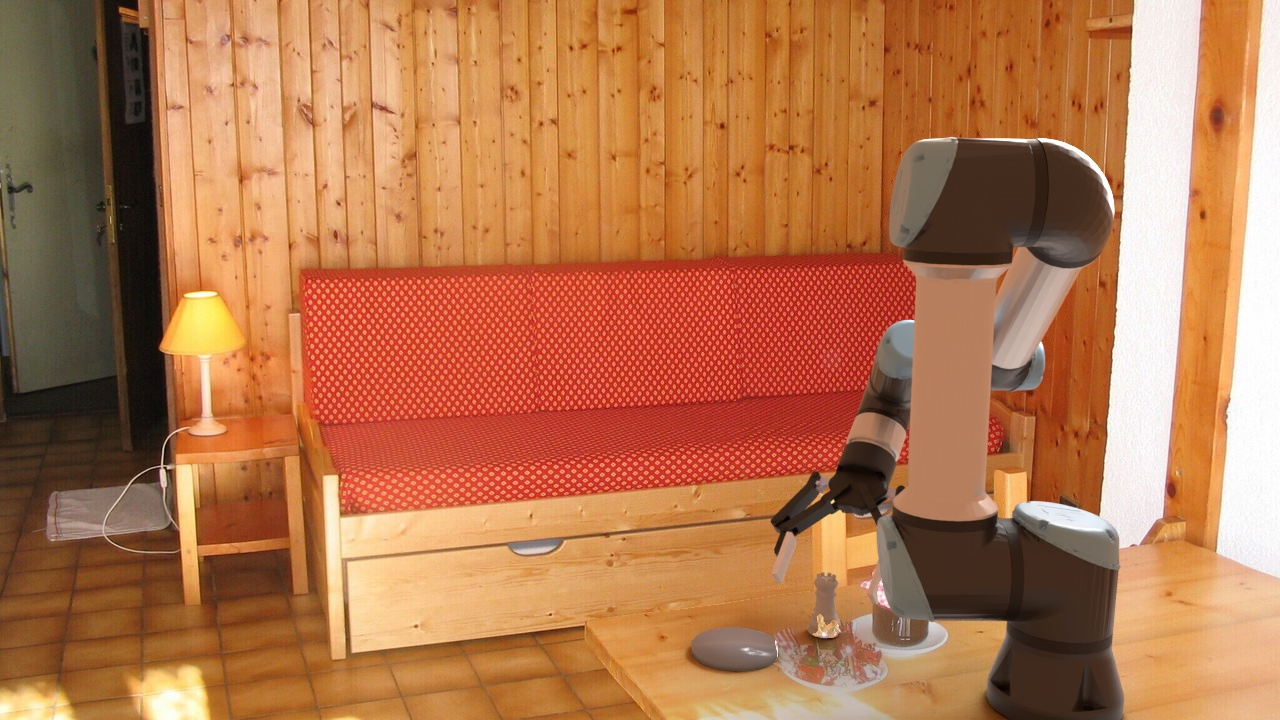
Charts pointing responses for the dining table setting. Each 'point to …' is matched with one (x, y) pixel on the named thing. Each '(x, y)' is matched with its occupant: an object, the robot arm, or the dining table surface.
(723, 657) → the glossy grey pebble
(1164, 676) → the dining table surface
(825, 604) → the rook chess piece
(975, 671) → the dining table surface
